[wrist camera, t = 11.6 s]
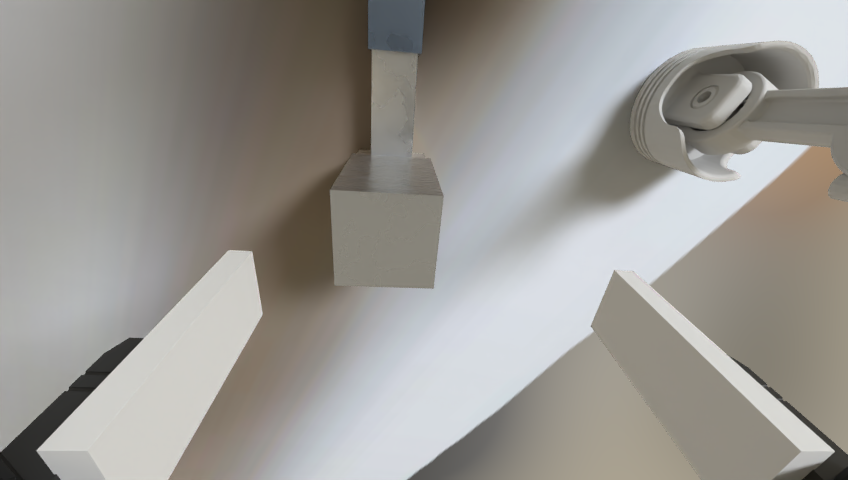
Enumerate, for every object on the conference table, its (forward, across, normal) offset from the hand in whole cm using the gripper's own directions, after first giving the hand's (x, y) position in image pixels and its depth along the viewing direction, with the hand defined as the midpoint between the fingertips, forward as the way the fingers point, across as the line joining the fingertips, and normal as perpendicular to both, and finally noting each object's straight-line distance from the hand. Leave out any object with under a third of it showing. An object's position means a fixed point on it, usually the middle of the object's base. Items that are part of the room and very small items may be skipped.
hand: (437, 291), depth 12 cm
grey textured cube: (+18, -2, -3) cm, 19 cm away
